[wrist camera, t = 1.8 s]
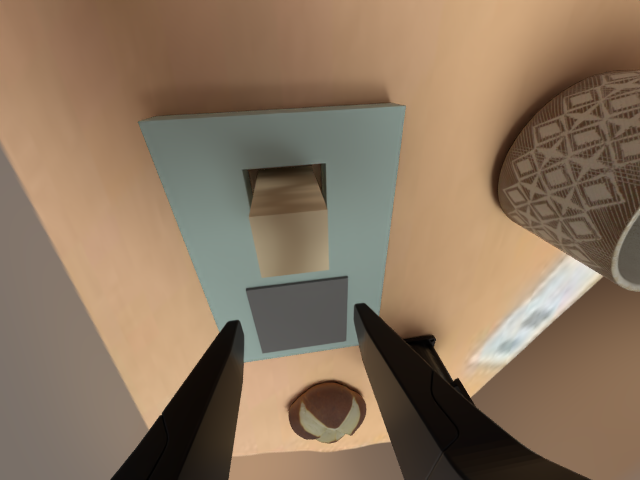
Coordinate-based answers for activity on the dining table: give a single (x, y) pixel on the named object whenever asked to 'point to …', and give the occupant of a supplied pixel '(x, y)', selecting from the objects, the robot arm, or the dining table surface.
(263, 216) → the maple block
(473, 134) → the dining table surface
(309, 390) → the bread
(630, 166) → the planter
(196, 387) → the robot arm
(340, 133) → the pocket board
